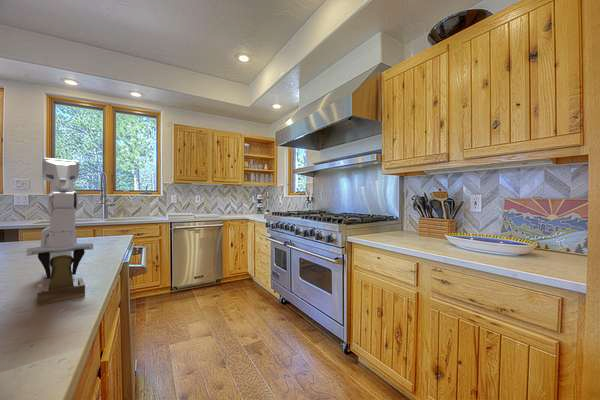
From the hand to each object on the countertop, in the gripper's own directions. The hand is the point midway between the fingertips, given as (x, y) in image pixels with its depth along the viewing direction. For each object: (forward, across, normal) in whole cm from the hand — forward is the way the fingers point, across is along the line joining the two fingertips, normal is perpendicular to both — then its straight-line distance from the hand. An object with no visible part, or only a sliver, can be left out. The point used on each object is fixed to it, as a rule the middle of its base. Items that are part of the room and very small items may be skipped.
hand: (61, 275), depth 76 cm
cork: (+5, 0, 0) cm, 5 cm away
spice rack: (+6, 0, -1) cm, 6 cm away
